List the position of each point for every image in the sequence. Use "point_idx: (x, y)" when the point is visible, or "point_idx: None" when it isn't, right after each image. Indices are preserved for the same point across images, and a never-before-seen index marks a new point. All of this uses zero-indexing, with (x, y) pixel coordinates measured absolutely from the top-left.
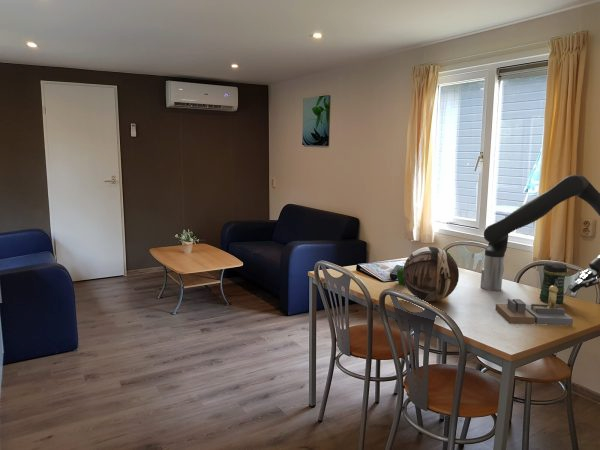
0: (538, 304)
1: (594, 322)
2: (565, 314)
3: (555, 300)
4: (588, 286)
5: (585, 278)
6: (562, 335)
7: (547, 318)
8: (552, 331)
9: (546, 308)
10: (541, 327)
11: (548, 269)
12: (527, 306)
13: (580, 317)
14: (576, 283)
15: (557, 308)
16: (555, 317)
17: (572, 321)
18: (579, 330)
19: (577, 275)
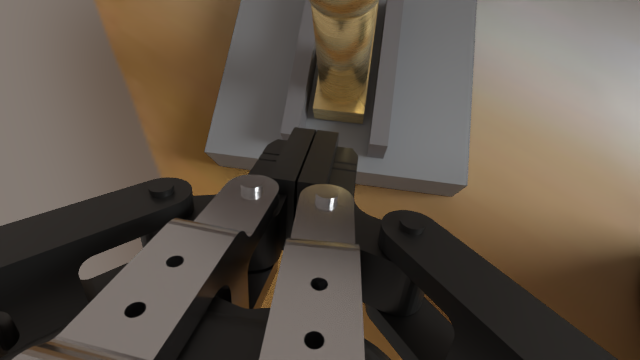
0: (387, 13)
1: None
2: None
3: (318, 52)
4: (119, 271)
5: (148, 263)
6: (117, 41)
7: (238, 17)
8: (168, 24)
9: (306, 22)
10: (222, 2)
11: None
12: (437, 3)
13: None
14: (299, 179)
15: (300, 91)
16: (240, 61)
17: (210, 155)
18: (156, 164)
19: (510, 308)
